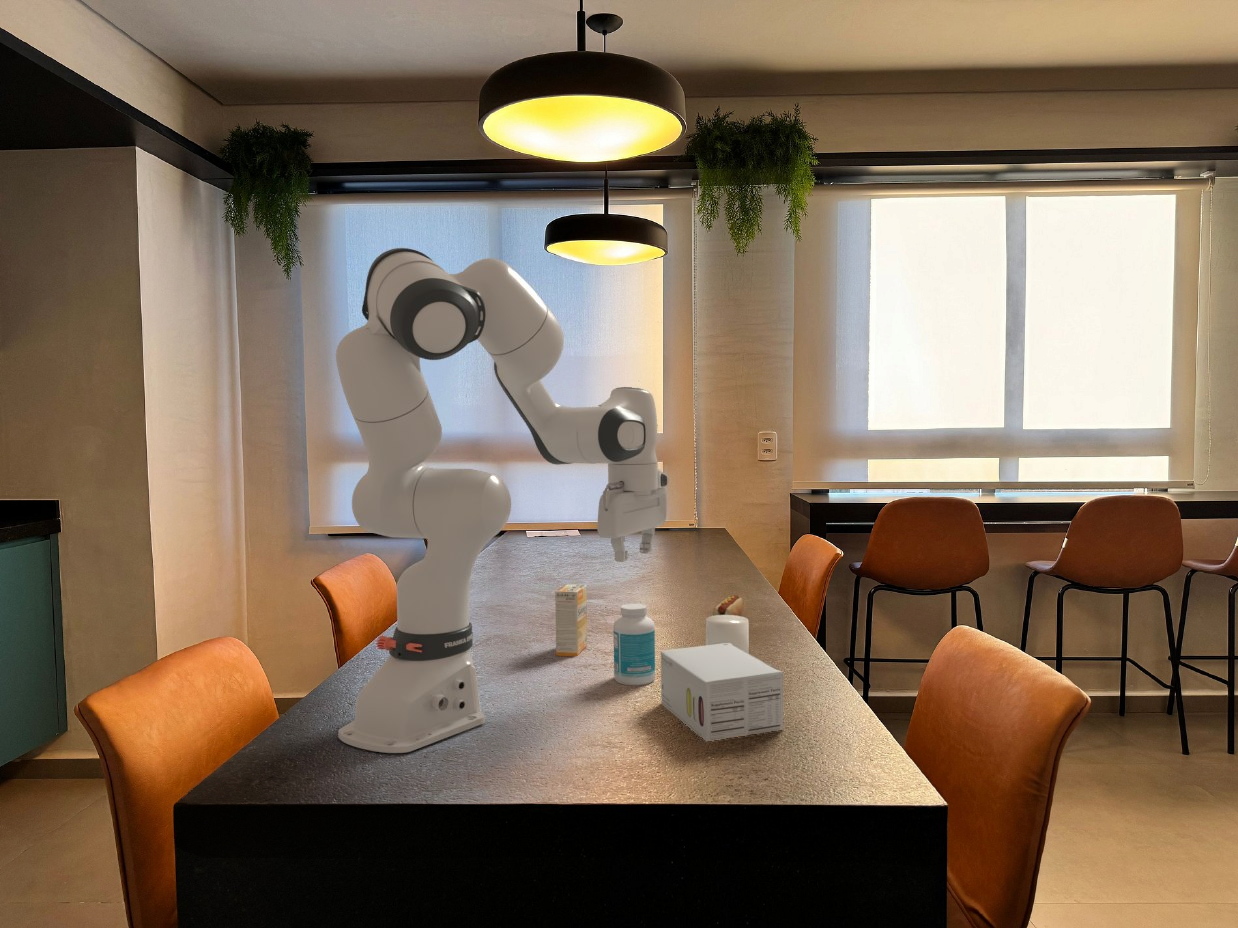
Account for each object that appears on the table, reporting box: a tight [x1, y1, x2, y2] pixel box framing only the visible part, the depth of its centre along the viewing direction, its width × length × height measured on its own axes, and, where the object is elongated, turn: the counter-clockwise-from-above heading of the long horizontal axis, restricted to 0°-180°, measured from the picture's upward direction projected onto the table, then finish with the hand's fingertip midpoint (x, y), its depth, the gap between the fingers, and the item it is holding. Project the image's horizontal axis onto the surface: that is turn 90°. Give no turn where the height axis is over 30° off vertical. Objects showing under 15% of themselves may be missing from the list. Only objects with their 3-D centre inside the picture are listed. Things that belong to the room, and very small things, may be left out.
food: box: [712, 595, 744, 616], centre depth 187 cm, size 14×6×5 cm, turn 157°
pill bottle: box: [612, 603, 656, 687], centre depth 141 cm, size 8×7×14 cm
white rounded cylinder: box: [705, 615, 750, 654], centre depth 149 cm, size 8×8×9 cm
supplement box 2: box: [660, 643, 784, 742], centre depth 123 cm, size 17×13×9 cm
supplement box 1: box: [554, 583, 588, 657], centre depth 161 cm, size 8×5×13 cm, turn 168°
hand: (633, 556), depth 141 cm, fingers open, 8 cm apart
